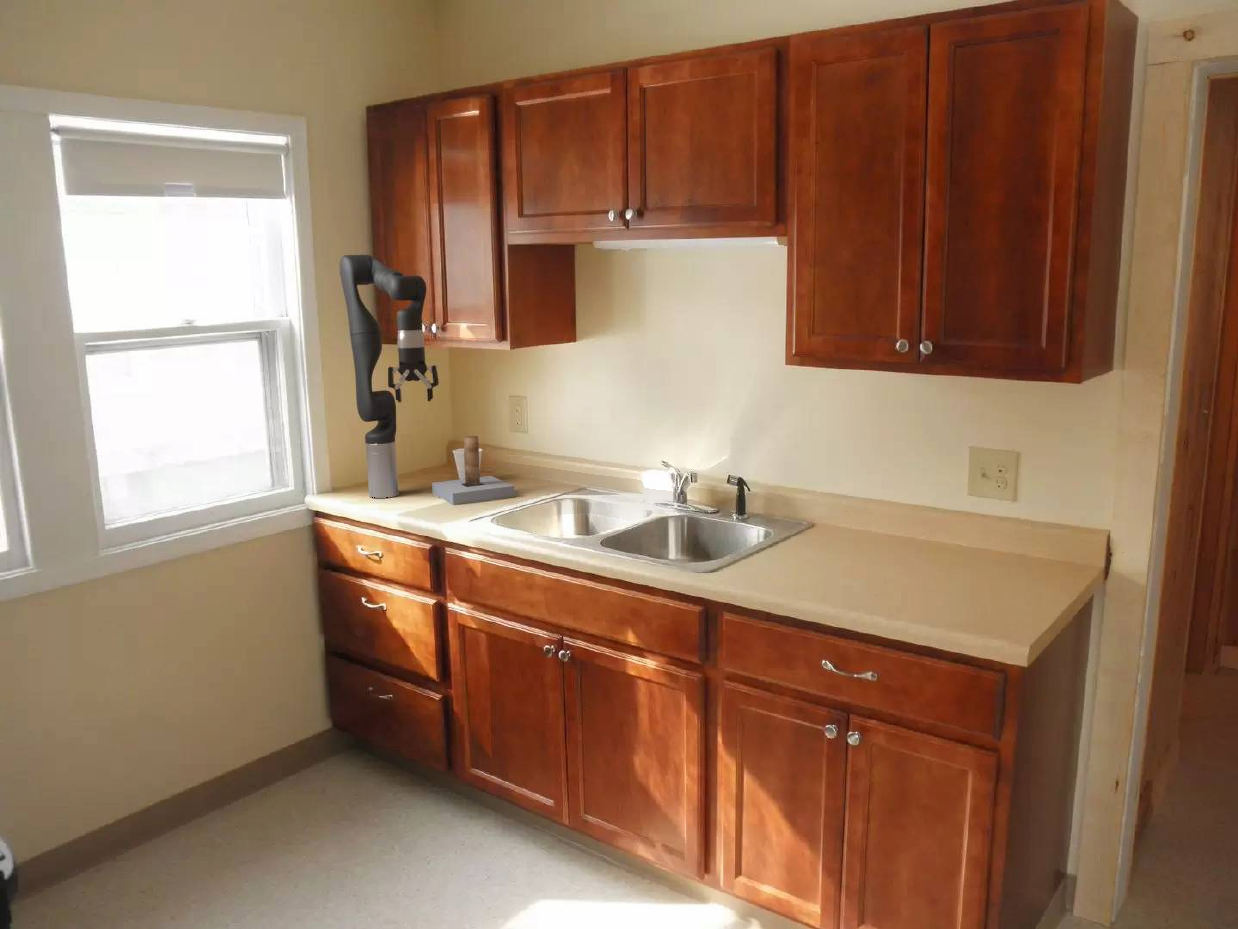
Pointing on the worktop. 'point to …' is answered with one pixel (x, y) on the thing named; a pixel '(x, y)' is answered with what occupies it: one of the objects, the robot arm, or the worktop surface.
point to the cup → (460, 461)
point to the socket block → (473, 490)
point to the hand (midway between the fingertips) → (414, 401)
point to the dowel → (471, 461)
